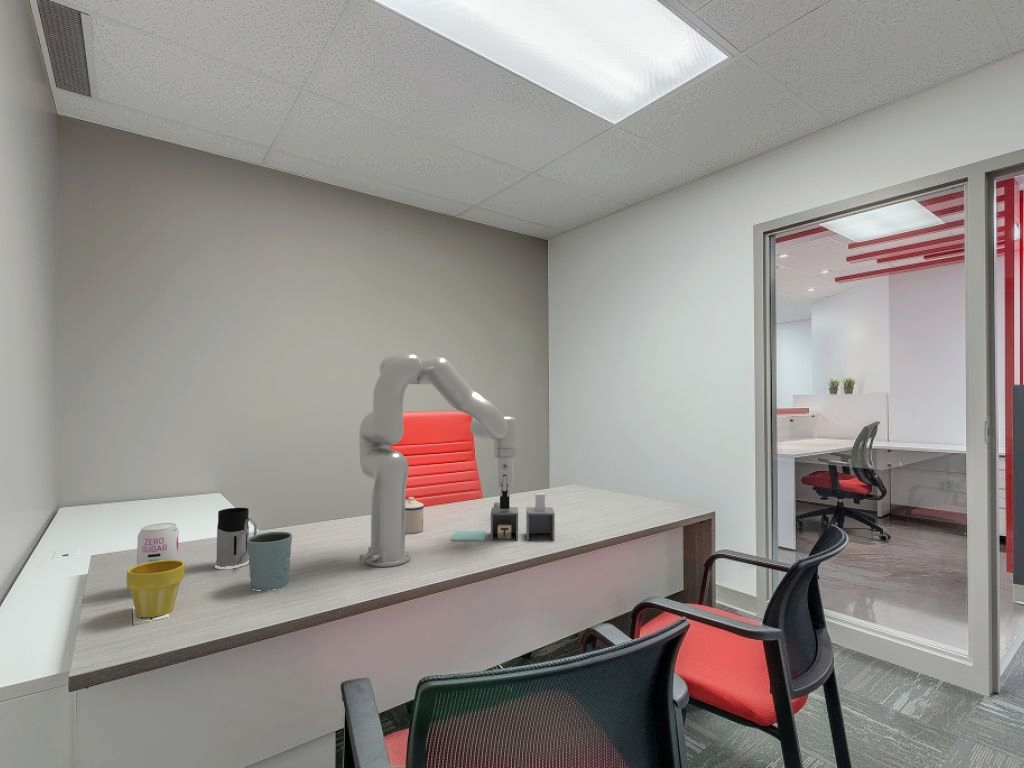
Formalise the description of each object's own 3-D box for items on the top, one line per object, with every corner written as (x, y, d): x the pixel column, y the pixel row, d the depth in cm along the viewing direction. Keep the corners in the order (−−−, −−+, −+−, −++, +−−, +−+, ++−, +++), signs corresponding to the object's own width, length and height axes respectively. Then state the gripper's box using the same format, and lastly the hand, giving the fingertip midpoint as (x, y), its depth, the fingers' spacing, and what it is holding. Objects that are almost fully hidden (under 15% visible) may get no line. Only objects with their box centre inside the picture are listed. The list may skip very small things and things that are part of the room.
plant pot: (175, 598, 119) (176, 555, 119) (190, 611, 112) (191, 565, 112) (120, 612, 111) (121, 566, 111) (132, 626, 104) (134, 578, 105)
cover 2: (554, 540, 169) (554, 496, 170) (527, 540, 169) (527, 496, 169) (552, 533, 178) (552, 491, 178) (526, 533, 178) (526, 491, 178)
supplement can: (170, 580, 131) (171, 520, 131) (182, 587, 126) (183, 526, 126) (131, 589, 125) (133, 526, 125) (142, 597, 119) (144, 532, 120)
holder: (237, 557, 149) (238, 505, 150) (269, 565, 143) (270, 511, 143) (207, 566, 142) (208, 511, 142) (239, 575, 135) (241, 517, 135)
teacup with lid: (428, 531, 180) (428, 498, 180) (404, 535, 174) (405, 501, 175) (412, 524, 189) (412, 492, 190) (389, 528, 184) (389, 495, 184)
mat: (484, 541, 168) (484, 539, 168) (450, 541, 168) (450, 539, 168) (486, 532, 179) (486, 530, 179) (454, 532, 179) (454, 530, 179)
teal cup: (297, 585, 127) (298, 537, 128) (253, 596, 121) (254, 544, 121) (282, 575, 135) (283, 529, 135) (240, 584, 128) (241, 536, 128)
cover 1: (518, 540, 169) (518, 496, 170) (490, 540, 169) (491, 496, 169) (517, 533, 178) (517, 491, 178) (491, 533, 178) (491, 491, 178)
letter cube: (511, 539, 171) (511, 525, 171) (497, 538, 171) (497, 525, 171) (511, 535, 176) (511, 522, 176) (497, 535, 176) (498, 522, 176)
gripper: (516, 455, 166) (516, 512, 166) (515, 450, 183) (515, 502, 182) (493, 455, 166) (492, 512, 166) (494, 450, 183) (494, 502, 182)
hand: (504, 506), depth 174 cm, fingers closed on cover 1, 3 cm apart
